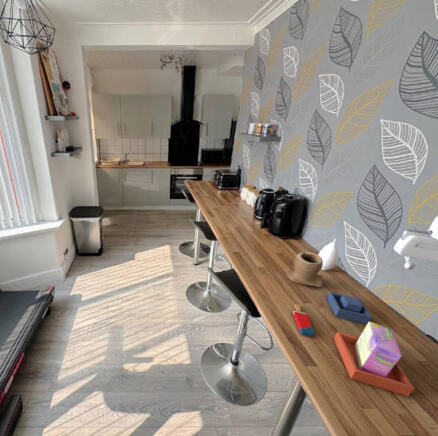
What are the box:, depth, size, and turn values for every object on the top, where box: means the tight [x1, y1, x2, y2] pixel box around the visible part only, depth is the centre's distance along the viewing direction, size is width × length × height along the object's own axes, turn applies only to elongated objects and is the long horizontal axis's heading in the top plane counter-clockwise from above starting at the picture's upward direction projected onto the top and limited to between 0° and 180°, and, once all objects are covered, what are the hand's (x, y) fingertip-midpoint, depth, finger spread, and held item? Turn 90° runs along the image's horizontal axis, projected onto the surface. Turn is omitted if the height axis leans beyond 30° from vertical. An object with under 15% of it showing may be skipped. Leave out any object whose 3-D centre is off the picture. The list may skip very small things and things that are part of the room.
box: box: [354, 321, 403, 377], centre depth 72 cm, size 10×6×12 cm, turn 147°
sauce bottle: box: [318, 238, 339, 271], centre depth 118 cm, size 8×8×18 cm
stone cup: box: [286, 251, 324, 288], centre depth 109 cm, size 15×12×15 cm
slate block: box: [338, 294, 363, 313], centre depth 94 cm, size 5×5×5 cm
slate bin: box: [326, 291, 373, 325], centre depth 95 cm, size 11×11×4 cm
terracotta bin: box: [333, 331, 415, 397], centre depth 74 cm, size 14×15×4 cm
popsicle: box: [292, 303, 315, 338], centre depth 90 cm, size 4×2×15 cm
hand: (426, 271), depth 76 cm, fingers open, 8 cm apart
